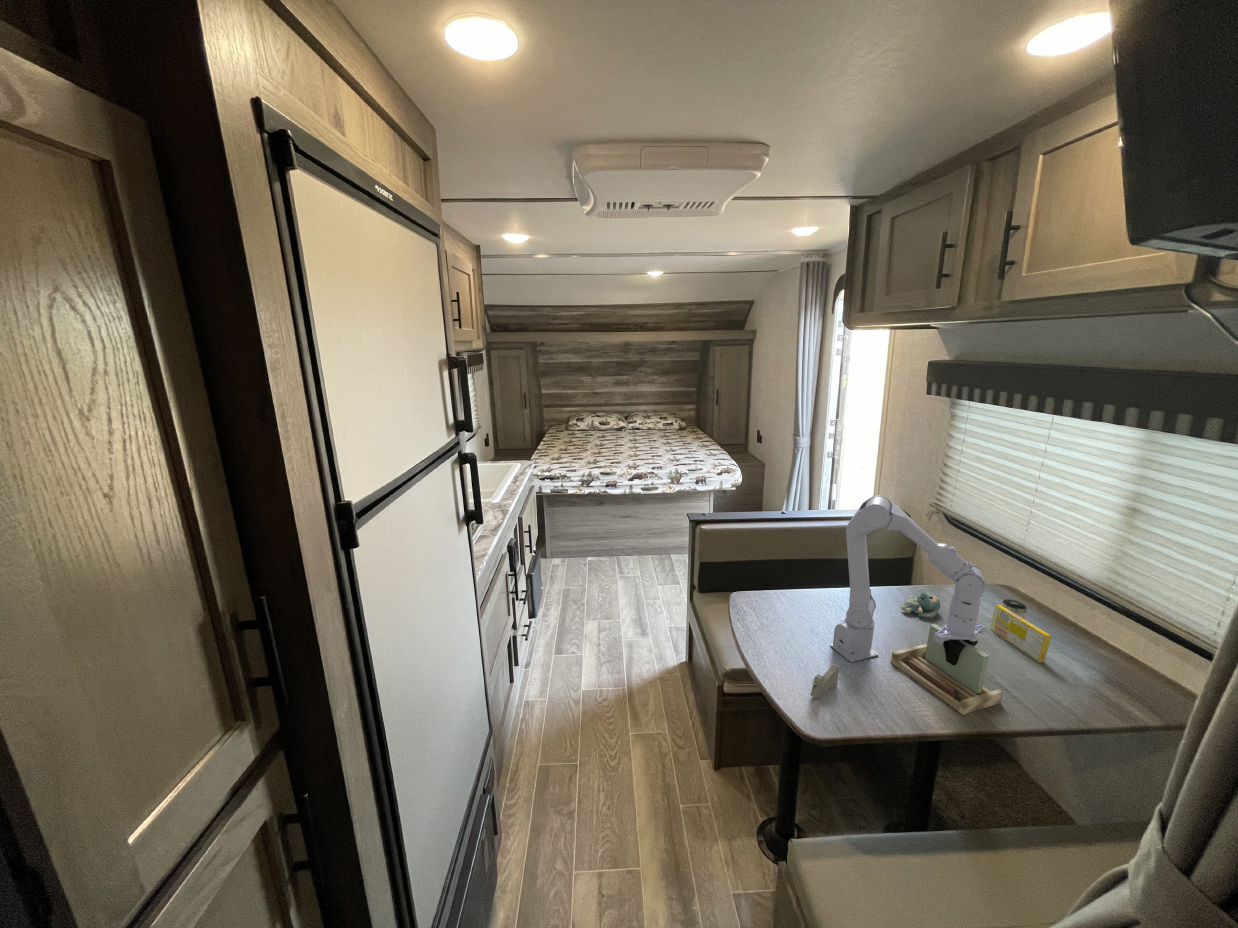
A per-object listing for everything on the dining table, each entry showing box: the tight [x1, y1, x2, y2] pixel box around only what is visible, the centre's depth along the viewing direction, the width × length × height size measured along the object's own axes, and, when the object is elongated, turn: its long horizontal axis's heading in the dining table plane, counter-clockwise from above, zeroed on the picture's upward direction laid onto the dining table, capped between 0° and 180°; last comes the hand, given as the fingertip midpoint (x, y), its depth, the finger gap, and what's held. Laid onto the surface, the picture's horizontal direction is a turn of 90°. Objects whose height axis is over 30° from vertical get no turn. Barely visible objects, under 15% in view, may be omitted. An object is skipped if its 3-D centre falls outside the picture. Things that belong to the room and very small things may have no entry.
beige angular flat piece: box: [809, 663, 840, 700], centre depth 117 cm, size 6×1×10 cm
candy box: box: [989, 604, 1052, 663], centre depth 135 cm, size 16×2×8 cm, turn 4°
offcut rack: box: [890, 643, 1003, 716], centre depth 121 cm, size 12×20×3 cm, turn 18°
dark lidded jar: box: [1000, 598, 1029, 620], centre depth 144 cm, size 6×6×8 cm
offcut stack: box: [908, 660, 958, 699], centre depth 120 cm, size 2×12×3 cm, turn 18°
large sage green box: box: [924, 623, 990, 694], centre depth 121 cm, size 2×14×10 cm, turn 18°
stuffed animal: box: [901, 592, 941, 619], centre depth 153 cm, size 11×7×12 cm
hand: (953, 662), depth 121 cm, fingers closed on large sage green box, 2 cm apart
